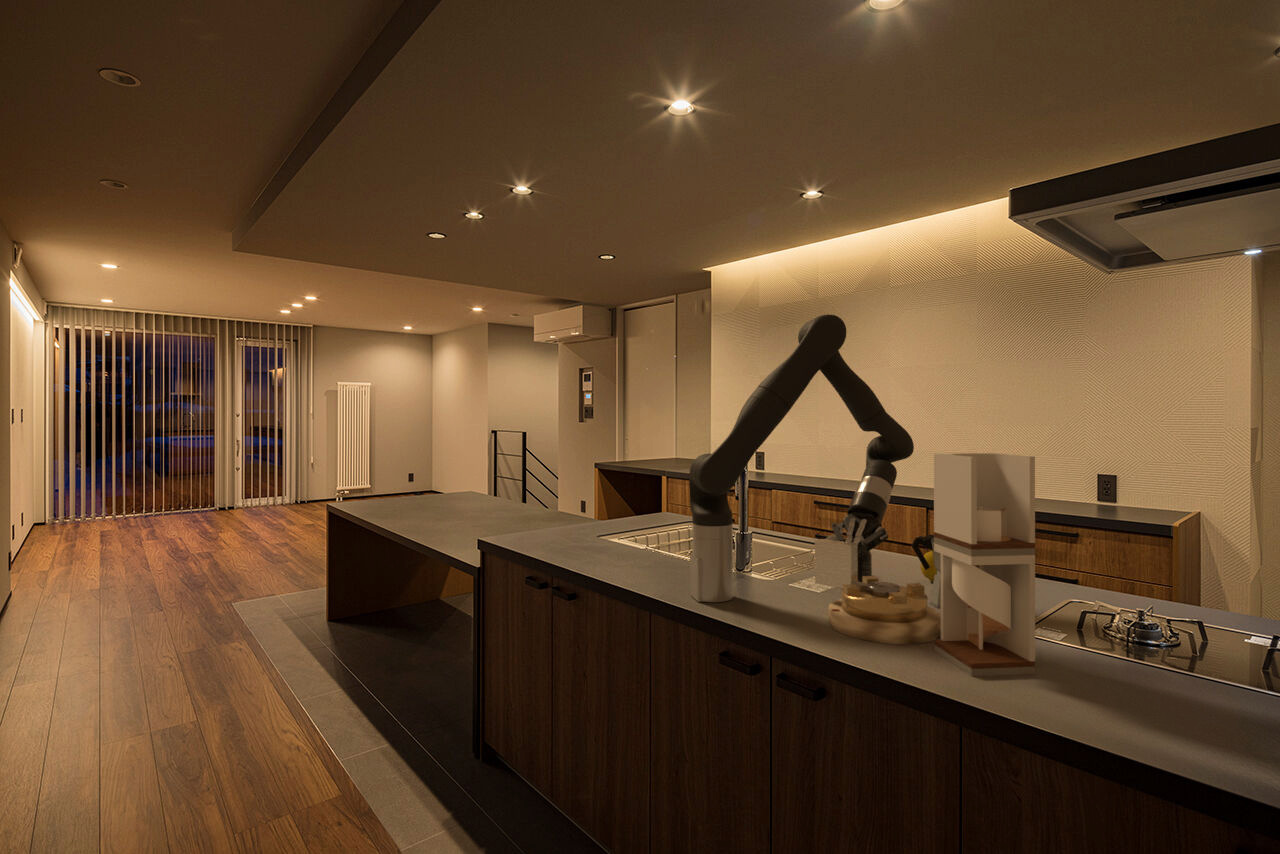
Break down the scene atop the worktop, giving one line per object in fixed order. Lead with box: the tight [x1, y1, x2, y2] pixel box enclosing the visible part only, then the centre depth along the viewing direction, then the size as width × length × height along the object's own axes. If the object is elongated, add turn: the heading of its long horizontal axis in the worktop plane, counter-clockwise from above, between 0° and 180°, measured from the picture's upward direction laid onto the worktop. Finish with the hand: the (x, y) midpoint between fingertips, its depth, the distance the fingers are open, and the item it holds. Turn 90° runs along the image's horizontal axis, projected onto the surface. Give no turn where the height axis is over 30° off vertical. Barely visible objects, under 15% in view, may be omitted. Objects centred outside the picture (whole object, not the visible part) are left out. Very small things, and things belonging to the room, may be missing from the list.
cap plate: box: [828, 598, 941, 645], centre depth 130 cm, size 21×21×3 cm
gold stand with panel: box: [814, 538, 928, 622], centre depth 132 cm, size 22×16×12 cm
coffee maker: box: [911, 534, 941, 609], centre depth 144 cm, size 15×9×18 cm, turn 47°
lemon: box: [920, 550, 937, 583], centre depth 164 cm, size 6×6×8 cm
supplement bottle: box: [857, 550, 873, 582], centre depth 160 cm, size 7×7×12 cm
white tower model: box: [933, 452, 1036, 677], centre depth 110 cm, size 11×11×35 cm
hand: (846, 563), depth 140 cm, fingers closed
